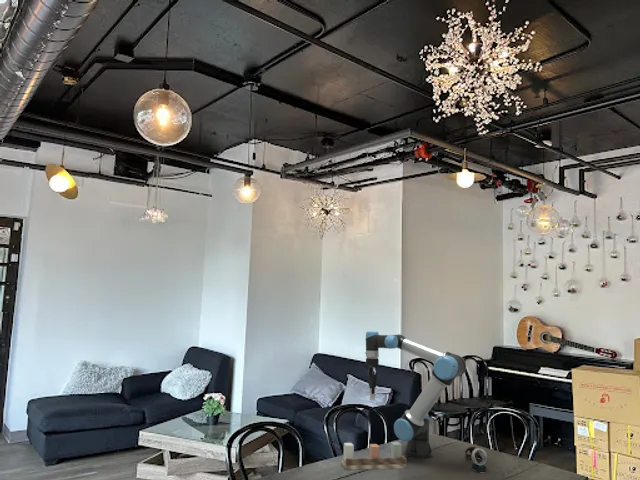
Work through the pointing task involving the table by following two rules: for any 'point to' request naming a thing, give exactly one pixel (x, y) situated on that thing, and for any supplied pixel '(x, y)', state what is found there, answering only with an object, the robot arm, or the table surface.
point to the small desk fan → (479, 466)
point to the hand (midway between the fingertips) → (372, 399)
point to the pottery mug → (468, 456)
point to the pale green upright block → (395, 450)
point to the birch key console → (374, 463)
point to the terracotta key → (374, 451)
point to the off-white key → (348, 451)
